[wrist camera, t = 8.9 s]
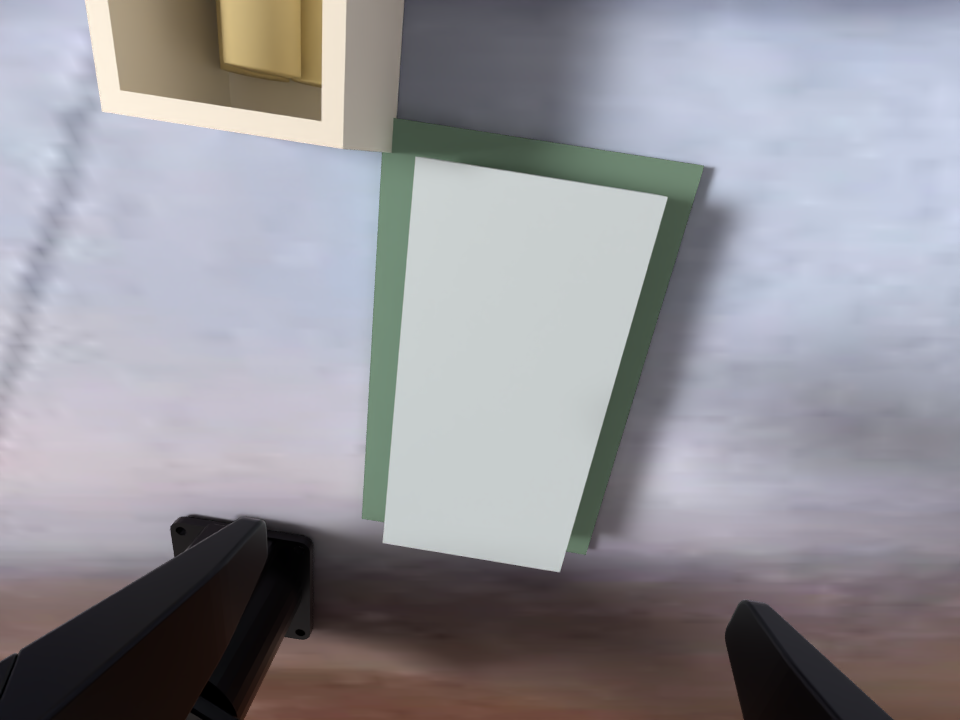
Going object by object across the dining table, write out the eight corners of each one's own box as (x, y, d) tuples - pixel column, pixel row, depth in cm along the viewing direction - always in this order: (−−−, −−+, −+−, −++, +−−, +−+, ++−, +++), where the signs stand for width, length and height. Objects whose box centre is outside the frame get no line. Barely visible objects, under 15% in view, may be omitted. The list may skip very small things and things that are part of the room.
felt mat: (584, 547, 21) (585, 554, 21) (364, 512, 21) (361, 518, 21) (699, 165, 15) (704, 165, 15) (387, 117, 15) (384, 116, 15)
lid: (555, 531, 20) (559, 572, 18) (395, 505, 20) (382, 542, 18) (647, 192, 15) (667, 196, 13) (428, 157, 15) (415, 156, 13)
